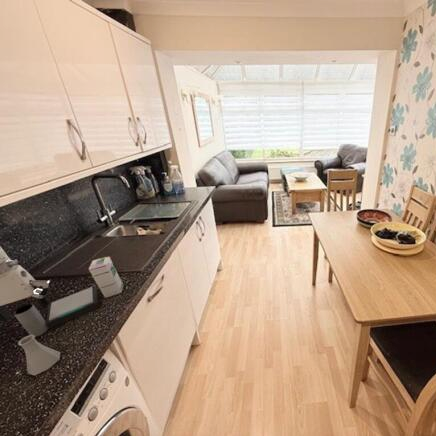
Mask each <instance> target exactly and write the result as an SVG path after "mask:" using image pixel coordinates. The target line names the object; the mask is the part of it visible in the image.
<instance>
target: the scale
mask: <svg viewBox="0 0 436 436" xmlns="http://www.w3.org/2000/svg"><path fill="white" fill-rule="evenodd" d="M99 298H100V297H99V291H98V288H97V286H96V285H94V286H90V287H87V288H86V289H82V290H80V291H78V292H76V293H72V294H69V295H68V296H65V297H63V298H59V299H57V300H55V301H53V302H50V304H49V306H48V308H47V314H46V318H45V321H46V325H47V327H48V328H49V329H48V330H50V329H53V328H55V327H57V326H59V325H62V324H64V323H66V322H68V321H70V320H73V319H75V318H78V317H80V316H82V315H85V314H87V313H89V312H91V311H95V309H98V308H100V300H99Z"/></svg>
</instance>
